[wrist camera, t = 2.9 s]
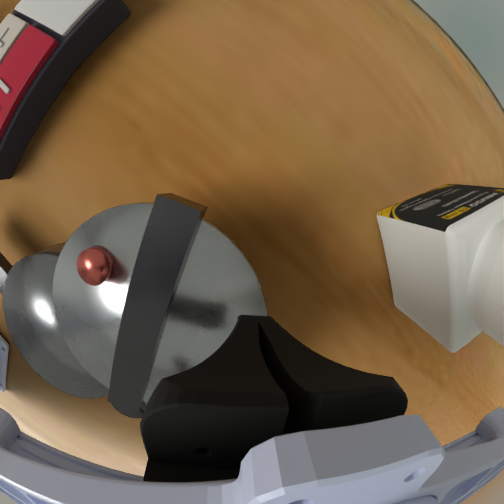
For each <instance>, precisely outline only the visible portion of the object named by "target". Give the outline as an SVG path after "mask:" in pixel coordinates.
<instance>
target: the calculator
mask: <svg viewBox="0 0 504 504" xmlns="http://www.w3.org/2000/svg"><path fill="white" fill-rule="evenodd" d="M130 14H131V12H130V11H129V9H128V8H127V6H126V5H125V4H124V3H123V1H122V0H21V1H20V2H19V3H18V5H17V6H16V7H15V10H14V11H13V12H12V14H11V13H9V14H8V15H7V16H6V17H5V19H4V20H3V22H2V23H1V24H0V180H3V179H10V178H11V177H12V175H13V173H14V171H15V169H16V167H17V165H18V163H19V161H20V159H21V157H22V155H23V153H24V151H25V149H26V147H27V145H28V143H29V142H30V140H31V138H32V136H33V134H34V133H35V131H36V129H37V128H38V126H39V124H40V123H41V121H42V119H43V118H44V116H45V114H46V113H47V111H48V110H49V108H50V106H51V105H52V103H53V102H54V100H55V99H56V97H57V96H58V94H59V93H60V91H61V90H62V88H63V87H64V85H65V84H66V83H67V81H68V80H69V78H70V77H71V76H72V74H73V73H74V72H75V70H76V69H77V68H78V67H79V65H80V64H81V63H82V62H83V60H84V59H85V58H87V57H88V56H90V55H91V54H92V53H93V52H94V51H95V50H96V49H97V48H98V46H99V45H100V44H101V43H102V42H103V41H104V40H105V39H106V38H107V37H108V36H109V35H110V34H111V33H112V32H113V31H114V30H115V29H116V28H117V27H118V26H119V25H120V24H122V23H123V22H124V21H125V20H126V19H127V18H128V17H129V16H130Z"/></svg>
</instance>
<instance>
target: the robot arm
mask: <svg viewBox="0 0 504 504" xmlns="http://www.w3.org/2000/svg"><path fill="white" fill-rule="evenodd" d="M8 352H9V345H8V343H7V342H6V341H5V339H4V338H3V337H2V336H1V335H0V390H1V391H2V392H4V391H5V389H6V372H7V361H8ZM407 403H408V399H407V396H406V394H405V392H404V391H403V390H402V388H401V387H400V386H399V385H398V383H397V382H396V381H395V379H394V378H393V377H388V376H382V375H377V374H371V373H366V372H363V371H359V370H356V369H352V368H349V367H346V366H343V365H341V364H339V363H336V362H334V361H331V360H329V359H327V358H325V357H323V356H321V355H319V354H318V353H316V352H314V351H312V350H311V349H309V348H308V347H306V346H305V345H303V344H302V343H301V342H299V341H298V340H297V339H295V338H294V337H293V336H292V335H290V334H289V333H288V332H287V331H286V330H285V329H283V328H282V327H281V326H280V325H279V324H278V323H277V322H276V321H275V320H274V319H273V318H271V317H270V316H257V315H239V316H238V320H237V323H236V325H235V327H234V329H233V330H232V332H231V334H230V335H229V336H228V338H227V339H226V340H225V342H224V343H223V344H222V345H221V346H220V347H219V348H218V349H217V350H216V351H215V352H214V353H213V354H212V355H211V356H209V357H208V358H207V359H205V360H204V361H203V362H201V363H200V364H198V365H196V366H194V367H192V368H190V369H188V370H186V371H183V372H181V373H178V374H175V375H172V376H169V377H165V378H162V379H161V381H160V382H159V384H158V385H157V387H156V388H155V390H154V391H153V393H152V395H151V397H150V399H149V401H148V402H147V405H146V407H145V410H144V413H143V417H142V420H141V423H140V429H141V435H142V438H143V442H144V445H145V449H146V452H147V455H148V462H147V466H146V470H145V474H144V477H142V476H138V475H133V474H129V473H125V472H122V471H118V470H114V469H111V468H107V467H104V466H101V465H98V464H95V463H92V462H89V461H86V460H83V459H80V458H78V457H75V456H72V455H70V454H67V453H65V452H63V451H60V450H58V449H56V448H53V447H51V446H49V445H47V444H45V443H42V442H40V441H38V440H36V439H34V438H32V437H30V436H28V435H27V434H25V433H23V432H21V431H20V429H19V427H18V425H17V423H16V421H15V420H14V419H13V417H12V416H11V415H10V414H9V413H7V412H6V411H5V410H3V409H1V408H0V492H2V493H3V494H5V495H6V496H7V497H9V498H10V499H12V500H13V501H15V502H16V503H18V504H460V503H461V502H463V501H464V500H466V499H467V498H469V497H470V496H471V495H473V494H474V493H475V492H477V491H478V490H479V489H481V488H482V487H484V486H485V485H486V484H487V483H489V482H490V481H491V480H493V479H494V478H495V477H496V476H497V475H498V474H499V473H500V472H501V471H502V470H503V469H504V409H503V408H502V407H498V408H497V409H495V410H493V411H492V412H490V413H488V414H487V415H486V416H485V417H484V418H483V419H482V420H481V421H480V423H479V424H478V426H477V427H476V430H475V431H473V432H471V433H469V434H467V435H465V436H463V437H461V438H459V439H457V440H455V441H453V442H451V443H449V444H447V445H445V446H442V445H441V444H440V442H439V441H438V440H437V438H436V437H435V436H434V434H433V433H432V431H431V430H430V429H429V427H428V426H427V425H426V423H425V422H424V420H423V419H422V418H421V416H420V415H404V413H405V411H406V409H407Z"/></svg>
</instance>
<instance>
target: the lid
mask: <svg viewBox="0 0 504 504" xmlns="http://www.w3.org/2000/svg"><path fill="white" fill-rule="evenodd" d="M206 209H207V207H206V206H203V205H200V204H198V203H195V202H193V201H190V200H188V199H185V198H182V197H180V196H177V195H175V194H172V193H165V194H157V196H156V199H155V202H154V203H144V202H141V203H133V204H126V205H121V206H117V207H114V208H111V209H107V210H105V211H103V212H101V213H99V214H97V215H95V216H93V217H91V218H90V219H89V220H87V221H86V222H84V223H83V224H82V225H81V226H80V227H79V228H78V229H77V230H76V231H75V232H74V233H73V234H72V235H71V237H70V238H69V239H68V241H67V242H66V244H65V245H64V247H63V249H62V251H61V253H60V255H59V258H58V261H57V264H56V267H55V272H54V278H53V304H54V310H55V315H56V319H57V322H58V325H59V328H60V331H61V333H62V335H63V337H64V340H65V342H66V343H67V345H68V347H69V348H70V350H71V352H72V353H73V355H74V356H75V357H76V359H77V360H78V361H79V363H80V364H81V365H82V366H83V367H84V368H85V369H86V370H87V371H88V372H89V373H90V374H91V375H92V376H93V377H94V378H95V379H96V380H97V381H99V382H100V383H101V384H103V385H104V386H106V387H107V388H108V389H109V394H108V401H109V402H111V403H112V405H113V406H114V408H115V409H116V410H117V411H119V412H120V413H122V414H123V415H125V416H128V417H131V418H142V417H143V413H144V410H145V407H146V405H147V402H148V401H149V399H150V397H151V395H152V393H153V391H154V390H155V388H156V387H157V385H158V384H159V382H160V381H161V379H162V378H165V377H169V376H172V375H175V374H178V373H181V372H183V371H186V370H188V369H190V368H192V367H194V366H196V365H198V364H200V363H201V362H203V361H204V360H205V359H207V358H208V357H209V356H211V355H212V354H213V353H214V352H215V351H216V350H217V349H218V348H219V347H220V346H221V345H222V344H223V343H224V342H225V340H226V339H227V338H228V336H229V335H230V334H231V332H232V330H233V329H234V327H235V325H236V323H237V320H238V316H239V315H257V316H267V311H266V306H265V300H264V296H263V292H262V289H261V286H260V283H259V280H258V278H257V275H256V273H255V271H254V269H253V267H252V266H251V264H250V262H249V260H248V259H247V258H246V256H245V255H244V253H243V252H242V250H241V249H240V248H239V247H238V246H237V245H236V244H235V242H234V241H233V240H232V239H231V238H230V237H229V236H228V235H227V234H225V233H224V232H223V231H222V230H221V229H219V228H218V227H217V226H216V225H214V224H213V223H211V222H209V221H208V220H206V219H205V218H203V217H204V214H205V212H206Z"/></svg>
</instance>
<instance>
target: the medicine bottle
mask: <svg viewBox="0 0 504 504" xmlns="http://www.w3.org/2000/svg"><path fill="white" fill-rule="evenodd" d="M377 221H378V225H379V229H380V233H381V237H382V242H383V246H384V251H385V256H386V260H387V266H388V271H389V276H390V282H391V288H392V294H393V300H394V305H395V307H397V308H398V309H399V310H400V311H402V312H403V313H404V314H405V315H406V316H408V317H409V318H410V319H411V320H413V321H414V322H415V323H416V324H418V325H419V326H420V327H421V328H422V329H424V330H425V331H426V332H427V333H428V334H430V335H431V336H432V337H433V338H434V339H436V340H437V341H438V342H439V343H440V344H441V345H443V346H444V347H445V348H446V349H447V350H448V351H450V352H452V353H454V352H456V351H458V350H459V349H461V348H462V347H463V346H465V345H466V344H467V343H469V342H470V341H471V340H473V339H474V338H475V337H476V336H478V335H479V334H480V333H481V332H484V333H485V334H487V335H488V336H490V337H491V338H492V339H494V340H495V341H497V342H498V343H499V344H501V345H502V346H504V189H503V188H494V187H483V186H471V185H456V184H446V185H443V186H441V187H438V188H436V189H433V190H431V191H428V192H426V193H423V194H421V195H418V196H416V197H413V198H411V199H408V200H406V201H403V202H401V203H398V204H396V205H393V206H391V207H388V208H386V209H383V210H381V211H379V212H378V213H377Z"/></svg>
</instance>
